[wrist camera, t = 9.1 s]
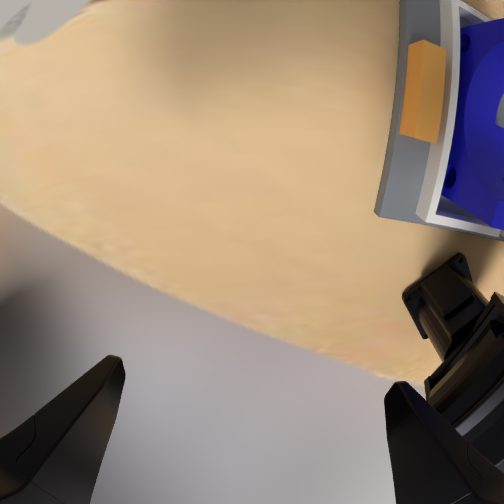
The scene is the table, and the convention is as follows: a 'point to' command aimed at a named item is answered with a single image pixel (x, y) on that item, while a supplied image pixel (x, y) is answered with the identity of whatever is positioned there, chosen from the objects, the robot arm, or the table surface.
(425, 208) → the dock board
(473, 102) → the blue curved cradle
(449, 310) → the robot arm
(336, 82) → the table surface
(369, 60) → the table surface
